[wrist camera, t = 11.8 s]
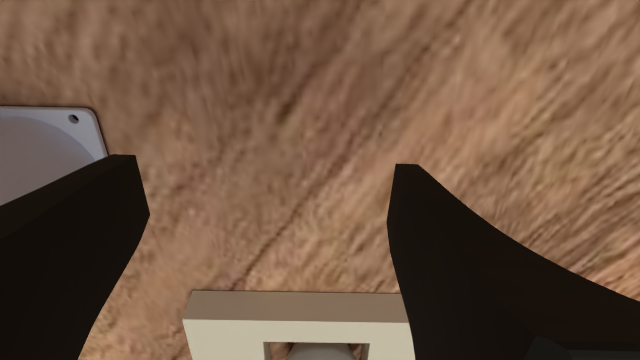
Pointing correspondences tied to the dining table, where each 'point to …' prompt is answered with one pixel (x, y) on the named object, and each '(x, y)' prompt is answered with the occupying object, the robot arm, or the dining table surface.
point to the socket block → (295, 323)
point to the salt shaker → (320, 351)
